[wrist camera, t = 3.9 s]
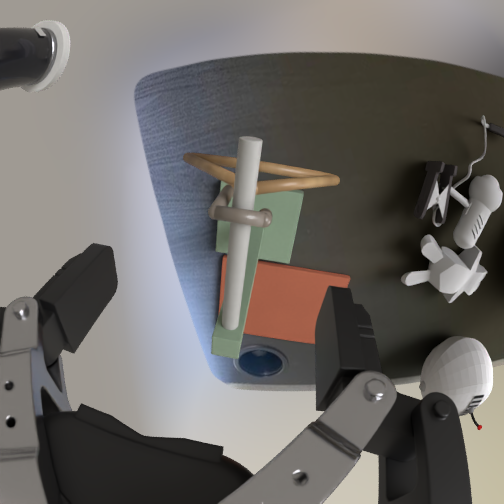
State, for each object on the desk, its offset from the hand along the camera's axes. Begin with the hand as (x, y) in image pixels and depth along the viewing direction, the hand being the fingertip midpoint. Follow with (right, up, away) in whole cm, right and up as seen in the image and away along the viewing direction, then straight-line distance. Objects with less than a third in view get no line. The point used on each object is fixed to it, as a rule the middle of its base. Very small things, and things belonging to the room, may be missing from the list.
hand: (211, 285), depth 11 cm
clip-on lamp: (+29, +12, +21) cm, 38 cm away
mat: (+6, -7, +35) cm, 36 cm away
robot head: (+38, -17, +37) cm, 56 cm away
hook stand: (+3, +9, +26) cm, 28 cm away
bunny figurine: (+30, 0, +28) cm, 41 cm away
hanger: (+2, +9, +15) cm, 17 cm away
